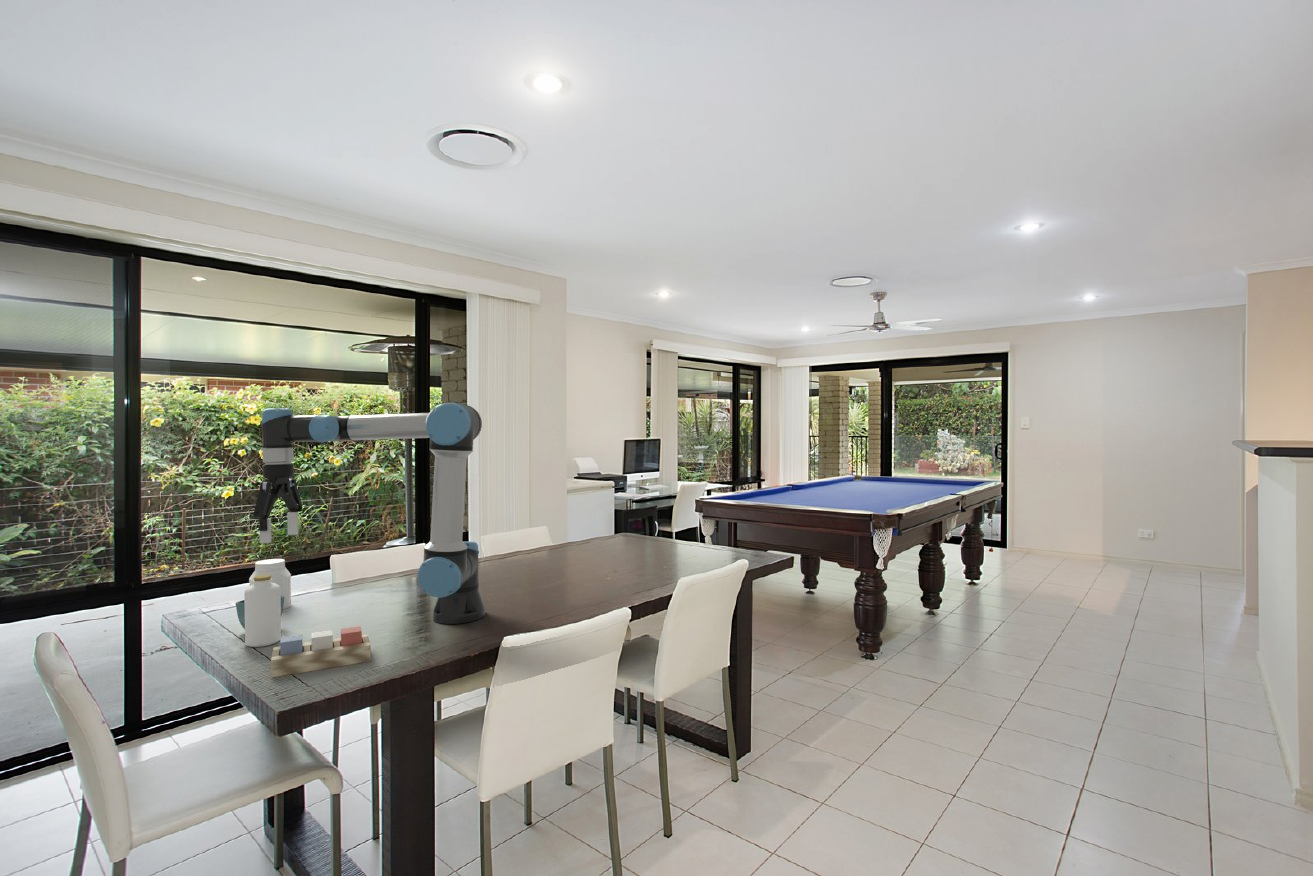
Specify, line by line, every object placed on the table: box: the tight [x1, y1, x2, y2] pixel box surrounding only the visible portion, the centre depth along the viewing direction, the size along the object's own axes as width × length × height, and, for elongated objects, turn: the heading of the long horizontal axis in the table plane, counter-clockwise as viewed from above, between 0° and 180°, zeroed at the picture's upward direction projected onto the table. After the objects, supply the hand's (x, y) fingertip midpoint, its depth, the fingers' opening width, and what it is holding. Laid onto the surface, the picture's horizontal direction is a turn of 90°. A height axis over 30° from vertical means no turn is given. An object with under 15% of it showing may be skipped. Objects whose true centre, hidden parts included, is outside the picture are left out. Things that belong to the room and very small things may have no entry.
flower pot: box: [235, 596, 285, 630], centre depth 181 cm, size 9×9×9 cm
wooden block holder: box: [270, 633, 372, 678], centre depth 156 cm, size 21×10×4 cm, turn 119°
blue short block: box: [279, 634, 304, 656], centre depth 152 cm, size 4×4×5 cm
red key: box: [340, 625, 363, 646], centre depth 159 cm, size 4×4×5 cm
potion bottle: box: [243, 575, 282, 648], centre depth 170 cm, size 8×8×18 cm
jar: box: [248, 558, 292, 610], centre depth 205 cm, size 12×10×15 cm
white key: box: [311, 629, 334, 651], centre depth 156 cm, size 4×4×5 cm
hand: (279, 538), depth 178 cm, fingers open, 13 cm apart
